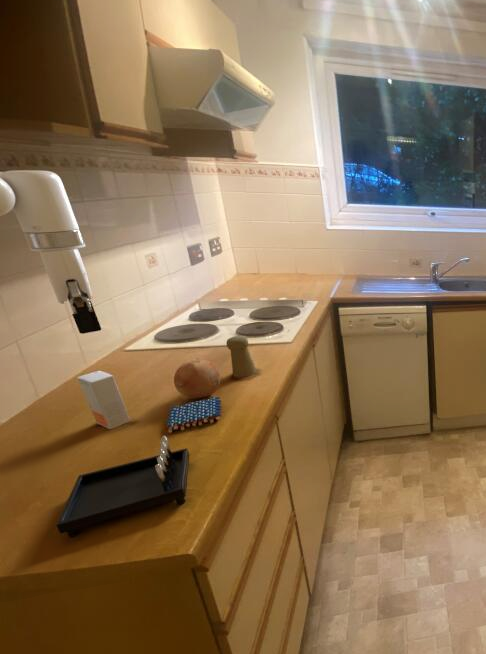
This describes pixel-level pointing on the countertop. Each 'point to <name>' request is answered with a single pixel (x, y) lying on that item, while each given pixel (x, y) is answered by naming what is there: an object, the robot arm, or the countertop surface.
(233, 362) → the pepper mill
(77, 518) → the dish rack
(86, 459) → the countertop surface
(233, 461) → the countertop surface
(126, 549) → the countertop surface
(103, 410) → the cosmetic box
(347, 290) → the countertop surface
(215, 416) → the woven mat
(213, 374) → the onion
